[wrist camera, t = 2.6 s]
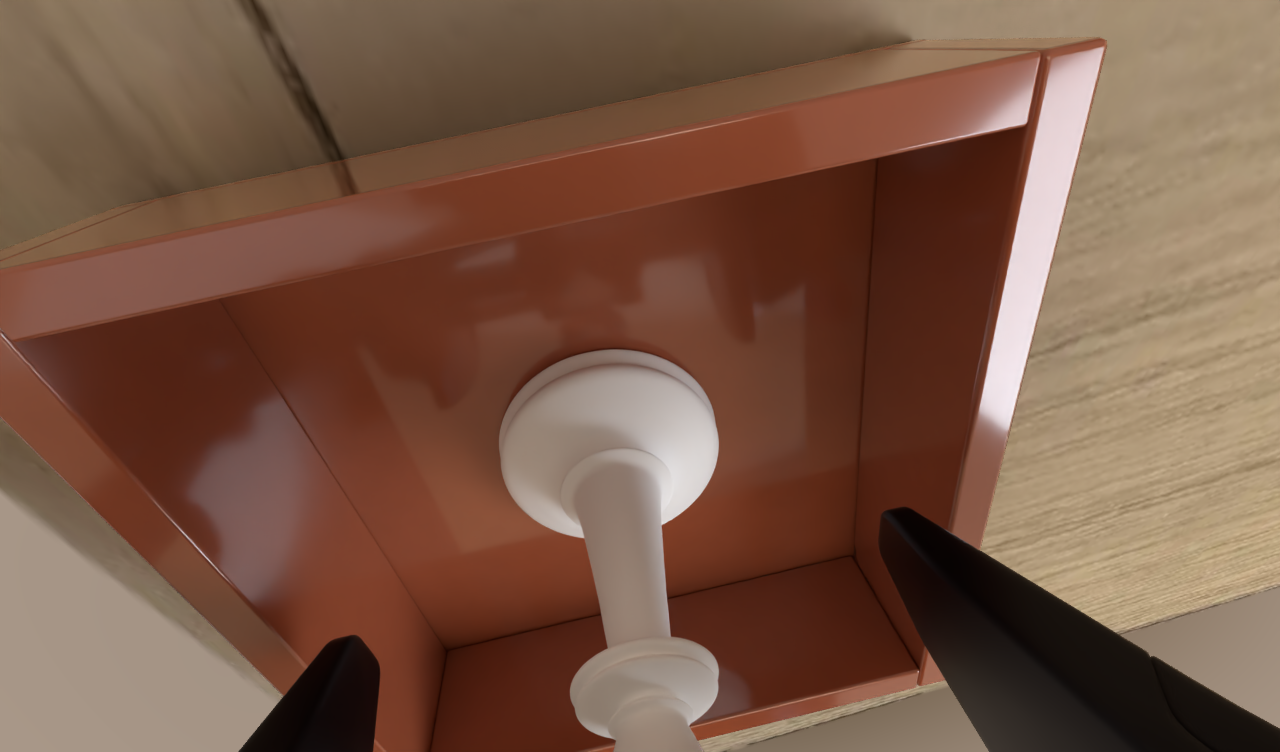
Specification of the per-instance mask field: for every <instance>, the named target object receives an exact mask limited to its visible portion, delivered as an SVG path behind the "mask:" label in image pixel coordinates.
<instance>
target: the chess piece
mask: <svg viewBox="0 0 1280 752" xmlns="http://www.w3.org/2000/svg"><path fill="white" fill-rule="evenodd" d="M718 451H719V439H718V432H717V428H716V423H715V416H714V412H713V409H712V406H711V403H710V401H709V399H708V397H707V395H706V393H705V392H704V390H703V389H702V387H701V386H700V385H699V384H698V382H697V381H696V380H695V379H694V378H693V377H692V376H691V375H689V374H688V373H687V372H686V371H684V370H683V369H682V368H680V367H679V366H677V365H675V364H674V363H672V362H670V361H668V360H666V359H663V358H661V357H658V356H655V355H652V354H648V353H644V352H640V351H633V350H623V349H609V350H598V351H592V352H587V353H582V354H579V355H575V356H572V357H569V358H567V359H564V360H562V361H559V362H557V363H555V364H553V365H551V366H550V367H548V368H546V369H545V370H543V371H542V372H540V373H539V374H537V375H536V376H535V377H533V378H532V379H531V380H530V381H529V382H528V383H527V384H526V385H525V386H524V387H523V388H522V389H521V390H520V391H519V392H518V393H517V395H516V396H515V397H514V399H513V400H512V402H511V403H510V405H509V407H508V409H507V411H506V413H505V415H504V418H503V421H502V424H501V428H500V434H499V452H500V458H501V470H502V475H503V479H504V482H505V484H506V487H507V489H508V491H509V493H510V495H511V496H512V498H513V499H514V501H515V502H516V503H517V504H518V506H519V507H520V508H521V509H522V510H523V511H524V512H525V513H526V514H527V515H529V516H530V517H531V518H532V519H534V520H535V521H537V522H538V523H540V524H542V525H544V526H545V527H547V528H550V529H552V530H554V531H557V532H559V533H562V534H566V535H570V536H574V537H579V538H584V539H585V543H586V547H587V551H588V556H589V560H590V564H591V568H592V573H593V577H594V582H595V586H596V591H597V595H598V599H599V604H600V610H601V616H602V621H603V627H604V632H605V637H606V642H607V647H608V649H605V650H604V651H602V652H600V653H598V654H597V655H595V656H594V657H592V658H591V659H589V660H588V661H587V662H586V663H585V664H584V665H583V666H582V667H581V668H580V669H579V670H578V672H577V673H576V675H575V676H574V678H573V680H572V683H571V686H570V698H571V702H572V704H573V706H574V707H575V713H576V716H577V718H578V720H579V722H580V723H581V724H582V725H583V726H584V727H585V728H586V729H588V730H589V731H591V732H593V733H595V734H597V735H600V736H603V737H607V738H612V739H614V740H616V743H615V747H614V751H613V752H704V751H703V749H702V747H701V746H700V744H699V742H698V740H697V739H696V737H695V735H694V734H693V732H692V730H691V729H690V727H689V726H690V724H691V723H692V722H694V721H695V720H697V719H698V718H700V717H701V716H702V715H703V714H704V713H705V712H707V710H708V709H709V708H710V707H711V706H712V704H713V703H714V701H715V699H716V697H717V694H718V676H719V668H718V664H717V661H716V659H715V657H714V656H713V655H712V653H711V652H710V651H709V650H707V649H706V648H705V647H703V646H701V645H700V644H698V643H695V642H693V641H690V640H687V639H683V638H677V637H671V634H670V622H669V612H668V603H667V594H666V581H665V568H664V554H663V538H662V525H663V524H665V523H667V522H668V521H670V520H672V519H673V518H675V517H676V516H678V515H679V514H681V513H682V512H683V511H684V510H686V509H687V508H688V507H689V506H690V505H691V504H692V503H693V502H694V501H695V500H696V499H697V498H698V497H699V496H700V494H701V493H702V492H703V490H704V489H705V487H706V486H707V484H708V482H709V481H710V479H711V477H712V474H713V472H714V469H715V466H716V463H717V458H718Z"/></svg>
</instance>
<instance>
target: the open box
mask: <svg viewBox="0 0 1280 752" xmlns="http://www.w3.org/2000/svg"><path fill="white" fill-rule="evenodd" d="M1106 49H1107V40H1105V39H1103V38H1100V37H1075V38H1018V39H961V40H925V39H923V40H913V41H908V42H903V43H899V44H894V45H889V46H884V47H879V48H875V49H870V50H865V51H860V52H855V53H851V54H846V55H841V56H836V57H831V58H827V59H822V60H817V61H812V62H807V63H803V64H798V65H793V66H788V67H783V68H779V69H774V70H769V71H764V72H759V73H755V74H750V75H745V76H740V77H735V78H731V79H726V80H721V81H716V82H711V83H707V84H702V85H697V86H692V87H687V88H683V89H678V90H673V91H668V92H664V93H659V94H654V95H649V96H644V97H640V98H635V99H630V100H625V101H620V102H616V103H611V104H606V105H601V106H596V107H592V108H587V109H582V110H577V111H572V112H568V113H563V114H558V115H553V116H548V117H544V118H539V119H534V120H529V121H524V122H520V123H515V124H510V125H505V126H500V127H496V128H491V129H486V130H481V131H476V132H472V133H467V134H462V135H457V136H452V137H448V138H443V139H438V140H433V141H428V142H424V143H419V144H414V145H409V146H404V147H400V148H395V149H390V150H385V151H380V152H376V153H371V154H366V155H361V156H356V157H352V158H347V159H342V160H337V161H332V162H328V163H323V164H318V165H313V166H308V167H304V168H299V169H294V170H289V171H284V172H280V173H275V174H270V175H265V176H260V177H256V178H251V179H246V180H241V181H236V182H232V183H227V184H222V185H217V186H212V187H208V188H203V189H198V190H193V191H188V192H184V193H179V194H174V195H169V196H164V197H160V198H155V199H150V200H145V201H140V202H136V203H131V204H126V205H121V206H118V207H115V208H113V209H110V210H108V211H105V212H102V213H100V214H97V215H94V216H91V217H89V218H86V219H83V220H81V221H78V222H75V223H73V224H70V225H67V226H64V227H62V228H59V229H56V230H54V231H51V232H48V233H45V234H43V235H40V236H37V237H35V238H32V239H29V240H27V241H24V242H21V243H18V244H16V245H13V246H10V247H8V248H5V249H2V250H0V418H1V419H2V420H3V421H4V422H5V423H6V424H7V425H8V426H9V427H10V428H11V429H12V430H13V431H14V432H15V433H16V434H17V435H18V436H19V437H20V438H21V439H23V440H24V441H25V442H26V443H27V444H28V445H29V446H30V447H31V448H32V449H33V450H34V451H35V452H36V453H37V454H38V455H39V456H40V457H41V458H42V459H43V460H44V461H45V462H46V463H47V464H48V465H49V466H50V467H51V468H52V469H53V470H54V471H55V472H56V473H57V474H58V475H59V476H60V477H61V478H62V479H63V480H64V481H65V482H66V483H67V484H68V485H69V486H70V487H71V488H72V489H73V490H74V491H75V492H76V493H77V494H78V495H79V496H80V497H81V498H82V499H83V500H84V501H85V502H87V503H88V504H89V505H90V506H91V507H92V508H93V509H94V510H95V511H96V512H97V513H98V514H99V515H100V516H101V517H102V518H103V519H104V520H105V521H106V522H107V523H108V524H109V525H110V526H111V527H112V528H113V529H114V530H115V531H116V532H117V533H118V534H119V535H120V536H121V537H122V538H123V539H124V540H125V541H126V542H127V543H128V544H129V545H130V546H131V547H132V548H133V549H134V550H135V551H136V552H137V553H138V554H139V555H140V556H141V557H142V558H143V559H144V560H145V561H146V562H147V563H148V564H149V565H151V566H152V567H153V568H154V569H155V570H156V571H157V572H158V573H159V574H160V575H161V576H162V577H163V578H164V579H165V580H166V581H167V582H168V583H169V584H170V585H171V586H172V587H173V588H174V589H175V590H176V591H177V592H178V593H179V594H180V595H181V596H182V597H183V598H184V599H185V600H186V601H187V602H188V603H189V604H190V605H191V606H192V607H193V608H194V609H195V610H196V611H197V612H198V613H199V614H200V615H201V616H202V617H203V618H204V619H205V620H206V621H207V622H208V623H209V624H210V625H211V626H212V627H214V628H215V629H216V630H217V631H218V632H219V633H220V634H221V635H222V636H223V637H224V638H225V639H226V640H227V641H228V642H229V643H230V644H231V645H232V646H233V647H234V648H235V649H236V650H237V651H238V652H239V653H240V654H241V655H242V656H243V657H244V658H245V659H246V660H247V661H248V662H249V663H250V664H251V665H252V666H253V667H254V668H255V669H256V670H257V671H258V672H259V673H260V674H261V675H262V676H263V677H264V678H265V679H266V680H267V681H268V682H269V683H270V684H271V685H272V686H273V687H274V688H275V689H276V690H278V691H279V692H280V693H281V694H282V695H283V696H284V695H285V694H286V693H287V692H288V690H289V689H290V688H291V687H292V686H293V684H294V683H295V682H296V681H297V679H298V678H299V677H300V676H301V674H302V673H303V672H304V671H305V670H306V668H307V667H308V666H309V665H310V663H311V662H312V661H313V660H314V659H315V657H316V656H317V655H318V654H319V652H320V651H321V650H322V649H323V648H324V646H325V645H326V644H327V643H329V642H330V641H331V640H333V639H336V638H341V637H345V636H349V635H357V636H359V637H360V638H361V639H362V640H363V641H364V643H365V644H366V645H367V647H368V648H369V649H370V650H371V652H372V653H373V654H374V656H375V657H376V658H377V660H378V662H379V665H380V685H379V696H378V706H377V717H376V727H375V738H374V748H373V752H613V751H614V747H615V743H616V740H614V739H612V738H607V737H603V736H600V735H597V734H595V733H593V732H591V731H589V730H588V729H586V728H585V727H584V726H583V725H582V724H581V723H580V722H579V720H578V718H577V716H576V713H575V707H574V706H573V704H572V702H571V698H570V686H571V683H572V680H573V678H574V676H575V675H576V673H577V672H578V670H579V669H580V668H581V667H582V666H583V665H584V664H585V663H586V662H587V661H588V660H589V659H591V658H592V657H594V656H595V655H597V654H598V653H600V652H602V651H604V650H605V649H608V647H607V642H606V637H605V632H604V627H603V621H602V616H601V610H600V604H599V599H598V595H597V591H596V586H595V582H594V577H593V573H592V568H591V564H590V560H589V556H588V551H587V547H586V543H585V539H584V538H579V537H574V536H570V535H566V534H562V533H559V532H557V531H554V530H552V529H550V528H547V527H545V526H544V525H542V524H540V523H538V522H537V521H535V520H534V519H532V518H531V517H530V516H529V515H527V514H526V513H525V512H524V511H523V510H522V509H521V508H520V507H519V506H518V504H517V503H516V502H515V501H514V499H513V498H512V496H511V495H510V493H509V491H508V489H507V487H506V484H505V482H504V479H503V475H502V470H501V458H500V452H499V434H500V428H501V424H502V421H503V418H504V415H505V413H506V411H507V409H508V407H509V405H510V403H511V402H512V400H513V399H514V397H515V396H516V395H517V393H518V392H519V391H520V390H521V389H522V388H523V387H524V386H525V385H526V384H527V383H528V382H529V381H530V380H531V379H532V378H533V377H535V376H536V375H537V374H539V373H540V372H542V371H543V370H545V369H546V368H548V367H550V366H551V365H553V364H555V363H557V362H559V361H562V360H564V359H567V358H569V357H572V356H575V355H579V354H582V353H587V352H592V351H598V350H609V349H623V350H633V351H640V352H644V353H648V354H652V355H655V356H658V357H661V358H663V359H666V360H668V361H670V362H672V363H674V364H675V365H677V366H679V367H680V368H682V369H683V370H684V371H686V372H687V373H688V374H689V375H691V376H692V377H693V378H694V379H695V380H696V381H697V382H698V384H699V385H700V386H701V387H702V389H703V390H704V392H705V393H706V395H707V397H708V399H709V401H710V403H711V406H712V409H713V412H714V416H715V423H716V428H717V432H718V439H719V451H718V458H717V463H716V466H715V469H714V472H713V474H712V477H711V479H710V481H709V482H708V484H707V486H706V487H705V489H704V490H703V492H702V493H701V494H700V496H699V497H698V498H697V499H696V500H695V501H694V502H693V503H692V504H691V505H690V506H689V507H688V508H687V509H686V510H684V511H683V512H682V513H681V514H679V515H678V516H676V517H675V518H673V519H672V520H670V521H668V522H667V523H665V524H663V525H662V538H663V554H664V568H665V581H666V594H667V603H668V612H669V622H670V634H671V637H677V638H683V639H687V640H690V641H693V642H695V643H698V644H700V645H701V646H703V647H705V648H706V649H707V650H709V651H710V652H711V653H712V655H713V656H714V657H715V659H716V661H717V664H718V668H719V676H718V694H717V697H716V699H715V701H714V703H713V704H712V706H711V707H710V708H709V709H708V710H707V712H705V713H704V714H703V715H702V716H701V717H700V718H698V719H697V720H695V721H694V722H692V723H691V724H690V726H689V727H690V729H691V730H692V732H693V734H694V735H695V737H696V739H697V740H702V739H706V738H711V737H715V736H719V735H723V734H727V733H731V732H735V731H739V730H743V729H748V728H752V727H756V726H760V725H764V724H768V723H772V722H776V721H780V720H785V719H789V718H793V717H797V716H801V715H805V714H809V713H813V712H817V711H822V710H826V709H830V708H834V707H838V706H842V705H846V704H850V703H854V702H859V701H863V700H867V699H871V698H875V697H879V696H883V695H887V694H891V693H896V692H900V691H904V690H908V689H912V688H915V687H916V686H917V685H918V686H923V685H927V684H931V683H936V682H940V681H944V680H945V678H944V677H943V675H942V673H941V672H940V670H939V668H938V667H937V665H936V664H935V662H934V660H933V659H932V657H931V655H930V654H929V652H928V650H927V648H926V647H925V645H924V643H923V641H922V639H921V637H920V636H919V634H918V632H917V630H916V628H915V626H914V623H913V621H912V619H911V617H910V615H909V613H908V611H907V609H906V607H905V605H904V603H903V600H902V598H901V596H900V594H899V592H898V590H897V588H896V586H895V584H894V582H893V580H892V577H891V575H890V573H889V571H888V569H887V567H886V565H885V563H884V561H883V559H882V556H881V554H880V551H879V546H878V538H879V528H880V518H881V514H882V513H883V512H884V511H885V510H889V509H894V508H898V507H908V508H911V509H913V510H914V511H916V512H917V513H919V514H921V515H922V516H924V517H926V518H927V519H929V520H931V521H932V522H934V523H936V524H937V525H939V526H941V527H942V528H944V529H945V530H947V531H949V532H950V533H952V534H954V535H955V536H957V537H959V538H960V539H962V540H964V541H965V542H967V543H969V544H970V545H972V546H974V547H975V548H977V549H978V550H980V549H981V545H982V541H983V537H984V533H985V529H986V525H987V521H988V517H989V513H990V509H991V505H992V501H993V497H994V493H995V489H996V485H997V481H998V477H999V473H1000V469H1001V465H1002V461H1003V457H1004V453H1005V449H1006V446H1007V442H1008V438H1009V434H1010V430H1011V426H1012V422H1013V418H1014V414H1015V410H1016V406H1017V402H1018V398H1019V394H1020V390H1021V386H1022V382H1023V378H1024V374H1025V370H1026V366H1027V362H1028V358H1029V354H1030V350H1031V346H1032V342H1033V338H1034V334H1035V330H1036V326H1037V323H1038V319H1039V315H1040V311H1041V307H1042V303H1043V299H1044V295H1045V291H1046V287H1047V283H1048V279H1049V275H1050V271H1051V267H1052V263H1053V259H1054V255H1055V251H1056V247H1057V243H1058V239H1059V235H1060V231H1061V227H1062V223H1063V219H1064V215H1065V211H1066V207H1067V203H1068V199H1069V196H1070V192H1071V188H1072V184H1073V180H1074V176H1075V172H1076V168H1077V164H1078V160H1079V156H1080V152H1081V148H1082V144H1083V140H1084V136H1085V132H1086V128H1087V124H1088V120H1089V116H1090V112H1091V108H1092V104H1093V100H1094V96H1095V92H1096V88H1097V84H1098V80H1099V76H1100V73H1101V69H1102V65H1103V61H1104V57H1105V53H1106Z"/></svg>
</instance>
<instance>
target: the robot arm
mask: <svg viewBox="0 0 1280 752" xmlns="http://www.w3.org/2000/svg"><path fill="white" fill-rule="evenodd" d="M878 546H879V551H880V554H881V556H882V559H883V561H884V563H885V565H886V567H887V569H888V571H889V573H890V575H891V577H892V580H893V582H894V584H895V586H896V588H897V590H898V592H899V594H900V596H901V598H902V600H903V603H904V605H905V607H906V609H907V611H908V613H909V615H910V617H911V619H912V621H913V623H914V626H915V628H916V630H917V632H918V634H919V636H920V637H921V639H922V641H923V643H924V645H925V647H926V648H927V650H928V652H929V654H930V655H931V657H932V659H933V660H934V662H935V664H936V665H937V667H938V668H939V670H940V672H941V673H942V675H943V677H944V678H945V680H946V682H947V683H948V685H949V686H950V688H951V690H952V691H953V693H954V695H955V696H956V698H957V699H958V701H959V703H960V705H961V706H962V708H963V709H964V711H965V713H966V714H967V716H968V718H969V719H970V721H971V723H972V724H973V726H974V727H975V729H976V731H977V732H978V734H979V736H980V737H981V739H982V741H983V742H984V744H985V746H986V747H987V749H988V750H989V752H1280V728H1278V727H1276V726H1274V725H1272V724H1270V723H1269V722H1267V721H1265V720H1263V719H1261V718H1260V717H1258V716H1256V715H1254V714H1252V713H1250V712H1249V711H1247V710H1245V709H1243V708H1241V707H1239V706H1237V705H1236V704H1234V703H1233V702H1231V701H1229V700H1227V699H1226V698H1224V697H1222V696H1221V695H1219V694H1217V693H1216V692H1214V691H1212V690H1210V689H1209V688H1207V687H1205V686H1204V685H1202V684H1200V683H1198V682H1197V681H1195V680H1193V679H1192V678H1190V677H1188V676H1187V675H1185V674H1183V673H1182V672H1180V671H1178V670H1177V669H1175V668H1173V667H1172V666H1170V665H1168V664H1167V663H1165V662H1163V661H1162V660H1160V659H1158V658H1157V657H1155V656H1151V657H1150V656H1149V654H1148V652H1146V651H1145V650H1143V649H1142V648H1140V647H1138V646H1137V645H1135V644H1133V643H1132V642H1130V641H1128V640H1127V639H1125V638H1123V637H1122V636H1120V635H1119V634H1117V633H1115V632H1114V631H1112V630H1110V629H1109V628H1107V627H1105V626H1104V625H1102V624H1100V623H1099V622H1097V621H1095V620H1094V619H1092V618H1091V617H1089V616H1087V615H1086V614H1084V613H1082V612H1081V611H1079V610H1077V609H1076V608H1074V607H1072V606H1071V605H1069V604H1067V603H1066V602H1064V601H1063V600H1061V599H1059V598H1058V597H1056V596H1054V595H1053V594H1051V593H1049V592H1048V591H1046V590H1044V589H1043V588H1041V587H1039V586H1038V585H1036V584H1035V583H1033V582H1031V581H1030V580H1028V579H1026V578H1025V577H1023V576H1021V575H1020V574H1018V573H1016V572H1015V571H1013V570H1011V569H1010V568H1008V567H1006V566H1005V565H1003V564H1002V563H1000V562H998V561H997V560H995V559H993V558H992V557H990V556H988V555H987V554H985V553H983V552H982V551H980V550H978V549H977V548H975V547H974V546H972V545H970V544H969V543H967V542H965V541H964V540H962V539H960V538H959V537H957V536H955V535H954V534H952V533H950V532H949V531H947V530H945V529H944V528H942V527H941V526H939V525H937V524H936V523H934V522H932V521H931V520H929V519H927V518H926V517H924V516H922V515H921V514H919V513H917V512H916V511H914V510H913V509H911V508H908V507H898V508H894V509H889V510H885V511H884V512H883V513H882V514H881V518H880V528H879V538H878ZM379 685H380V665H379V662H378V660H377V658H376V657H375V656H374V654H373V653H372V652H371V650H370V649H369V648H368V647H367V645H366V644H365V643H364V641H363V640H362V639H361V638H360V637H359V636H357V635H349V636H345V637H341V638H336V639H333V640H331V641H330V642H329V643H327V644H326V645H325V646H324V648H323V649H322V650H321V651H320V652H319V654H318V655H317V656H316V657H315V659H314V660H313V661H312V662H311V663H310V665H309V666H308V667H307V668H306V670H305V671H304V672H303V673H302V674H301V676H300V677H299V678H298V679H297V681H296V682H295V683H294V684H293V686H292V687H291V688H290V689H289V690H288V692H287V693H286V694H285V695H284V697H283V698H282V699H281V700H280V701H279V703H278V704H277V705H276V706H275V708H274V709H273V710H272V711H271V713H270V714H269V715H268V716H267V717H266V719H265V720H264V721H263V722H262V723H261V725H260V726H259V727H258V728H257V730H256V731H255V732H254V733H253V735H252V736H251V737H250V738H249V739H248V741H247V742H246V743H245V744H244V745H243V747H242V748H241V749H240V750H239V752H373V748H374V738H375V727H376V717H377V706H378V696H379Z"/></svg>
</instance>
